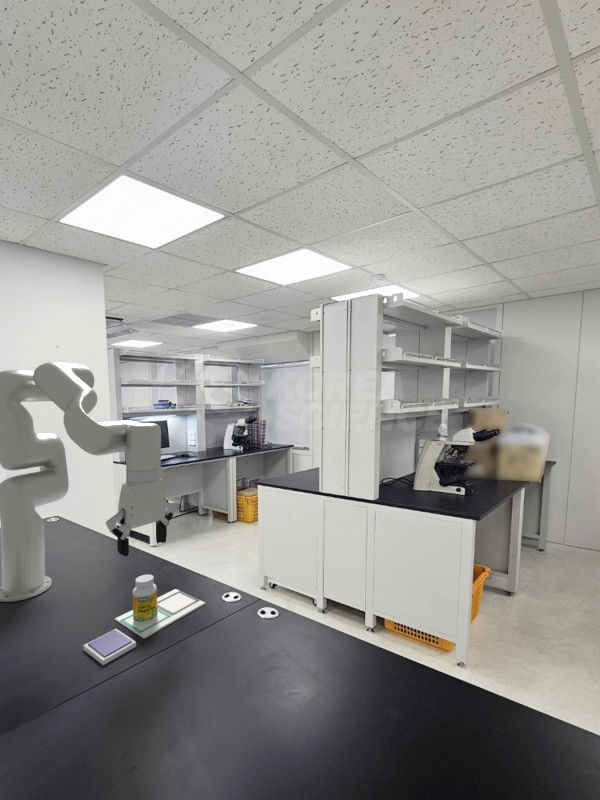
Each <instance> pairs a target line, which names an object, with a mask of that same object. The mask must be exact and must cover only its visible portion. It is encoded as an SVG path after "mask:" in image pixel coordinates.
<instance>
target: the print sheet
mask: <svg viewBox="0 0 600 800" xmlns="http://www.w3.org/2000/svg"><path fill="white" fill-rule="evenodd" d="M204 605H206V602H205V601H202V600H201V599H198V598H197V597H194V596H192V595H189V594H188V593H185V592H184V591H181V590H179V589H177V588H174V589H172V590H171V591H169V592H166V593H164V594H162V595H160V596H157V617H156V618H155V619H154V620H153V621H151V622H149V623H146V624H137V623H135V622H134V620H133V609H132V610H129V611H127V612H125V613H124V614H123V613H122V614H121V615H119V616H117V617H115V618H114V621H116V622H118V623H119V624H120V625H122V626H123V627H126V628H127V629H128V630H129V631H131V632H133V633H134V634H136V635H138V636H140V637H141V638H142V639H146V638H148V637H150V636H151V635H153V634H155V633H157V632H158V631H161V630H162V629H164V628H166V627H167V626H169V625H170V624H173V623H174V622H176V621H178V620H180V619H181V618H183V617H185V616H186V615H189V614H190V613H192V612H194V611H196V610H197V609H199V608H201V607H203V606H204Z"/></svg>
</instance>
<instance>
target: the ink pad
mask: <svg viewBox="0 0 600 800" xmlns="http://www.w3.org/2000/svg"><path fill="white" fill-rule="evenodd" d="M136 647H137V642H136V641H135V639H132V638H131V637H129V635H126V633H123V632H122V631H121V630H119V629H117V628H114V629H112V630H111V631H109V632H106V633H104V634H103V635H101V636H98V637H97V638H94V639H92V640H91V641H89V642H87V643H85V644H83V651H85V653H87V654H88V655H89V656H91V657H92V658H93V659H95V660H96V661H97V662H98V663H100V665H102V666H104V665H106V664H108V663H111V662H112V661H113V660H115V659H117V658H118V657H120V656H122V655H124V654H125V653H128V652H130V651H131V650H133V649H134V648H136Z"/></svg>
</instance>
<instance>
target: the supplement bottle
mask: <svg viewBox="0 0 600 800" xmlns="http://www.w3.org/2000/svg"><path fill="white" fill-rule="evenodd" d="M154 581H155V579H154V575H152V574H143V575H140V576H138V577H136V578H135V581H134V582H135V583H134V584H135V586H134V588H133V589H132V610H133V620H134V622H135V623H137V624H146V623H149V622H151V621H153V620H154V619H155V618H156V617H157V598H158V588H157V585H156V584H155V583H154Z"/></svg>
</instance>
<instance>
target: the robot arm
mask: <svg viewBox="0 0 600 800" xmlns="http://www.w3.org/2000/svg"><path fill="white" fill-rule="evenodd" d="M94 385H95V376H94V373H93V371H91V369H90V368H89V367H87V366H85V365H83V364H78V363H71V362H67V363H66V362H56V361H55V362H54V361H53V362H52V361H49V362H44V363H43V364H42V363H41V364H40V365H38V366H37V367H36V368H35V370H26V369H25V370H24V369H23V370H22V369H10V370H8V369H7V370H2V371H0V466H1V468H3V469H4V470H6V471H21V470H27V469H32V468H33V469H34V468H38V467H39V471H33V472H28V473H23V474H18V475H14V476H11V477H9V478H8V477H7V478H6V479H4V480H3V481H1V482H0V543H1V586H0V602H3V603H5V602H6V603H7V602H8V603H10V602H13V603H14V602H18V601H23V600H24V601H25V600H27V599H30V598H34V597H36V596H38V595H41V594H42V593H44V592H45V591H47V590H48V589H49V588H50V587H51V585H52V584H53V583H52V581H53V580H52V578H51V577H50V576H47V575H46V573H45V569H46V568H45V567H46V566H45V562H46V561H45V525H44V519H43V518H42V517H41V515H40V514H39V513H38V512H37V511H36V509H35V508H37V507H38V508H39V507H41V506H43V505H46V504H51V503H54V502H57V501H60V500H62V499H63V498H65V496H66V495H67V493H68V491H69V486H70V485H69V473H68V463H67V456H66V455H67V454H66V450H65V449H66V448H65V444H64V442H63V441H62V439H61V438H60V437H59V436H58V435H57V434H55V433H53V432H37V433H36V431H35V428H34V419H33V416H32V414H31V413H30V412H29V410H28V409H27V408H26V407H25V406H24V405H23V404H22V402H23V403H24V402H26V403H27V402H31V403H33V402H53V404H55V405H56V406H57V407H58V408H59V409H60V410H61V411H62V412H63V424H64V425H63V426H64V429H65V432H66V434H67V436H68V438H69V439H70V440H72V442H73V443H75V444H76V445H77V446H78V447H79V448H80V449H82V450H83V452H85V453H87V454H89V455H92V456H99V457H100V456H105V455H110V454H115V453H123V452H126V453H125V454H126V456H125V457H126V458H125V462H126V463H125V465H126V466H125V468H126V470H125V472H126V473H125V474H126V475H125V480H126V481H125V482H123V483H122V485H121V489H120V492H119V499H118V508H117V512H116V514H114V515H113V516H112V517H110V518H109V519H107V521H106V522H105V526H106V527H107V529H108V530H109V533H111V534H112V535H114V536H115V537H116V538H117V539H116V540H117V543H116V544H117V552H118V555H120V556H124V557H128V556H129V552H130V539H129V538H128V535H129V534H130V532H131V530H133V529H136V528H140V527H143V526H146V525H149V524H153V523H156V522H157V523H156V525H155V539H156V541H158V542H160V543H163V544H164V543H165V544H166V543H167V535H168V534H167V532H168V530H167V528H168V526H169V525H170V521H171V519H172V518H173V516H174V512H175V511H176V506H177V504H174V503H172V502H168V501H167V499H166V491H165V486H164V485H165V484H164V480H163V478H161V477H162V474H164V472H165V468H164V467H162V466H161V463H162V461H161V460H162V459H161V458H162V457H161V456H162V455H161V454H162V428H161V425H159V424H157V423H155V422H138V421H134V420H127V419H125V420H113V421H102V422H97V421H96V420H95V419H93V417H92V416H90V415H89V414H90V412H92V411H93V409H94V408H95V407H96V405H97V403H98V395H97V392H96V390H94V389H93V388H94ZM117 523H118V525H119V527H117Z"/></svg>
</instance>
